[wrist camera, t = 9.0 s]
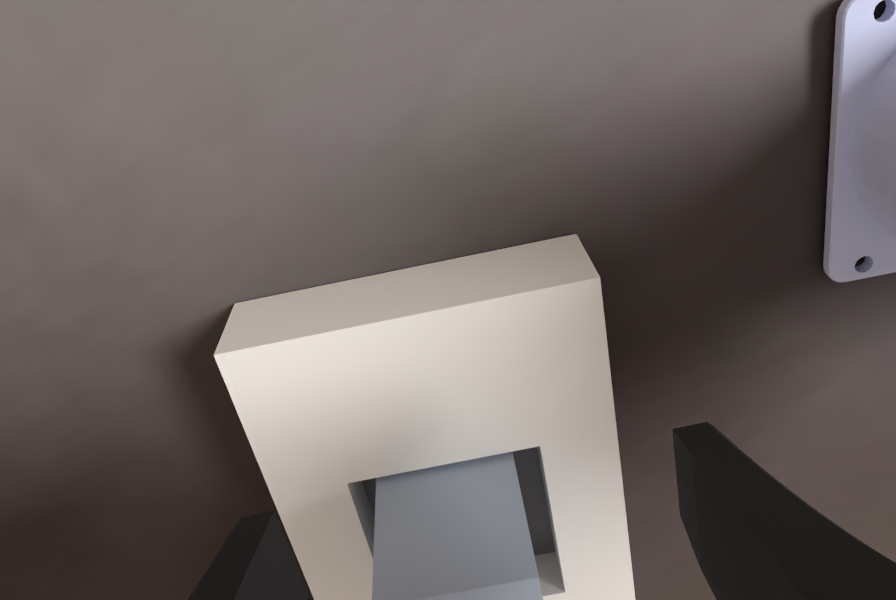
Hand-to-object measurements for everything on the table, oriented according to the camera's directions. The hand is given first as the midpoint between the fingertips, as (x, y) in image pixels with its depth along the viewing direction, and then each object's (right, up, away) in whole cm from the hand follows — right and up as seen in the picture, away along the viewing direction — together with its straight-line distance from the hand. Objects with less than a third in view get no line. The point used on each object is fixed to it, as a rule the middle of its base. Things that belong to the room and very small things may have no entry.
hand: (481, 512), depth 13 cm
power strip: (0, -4, +13) cm, 13 cm away
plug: (0, -2, +10) cm, 11 cm away
